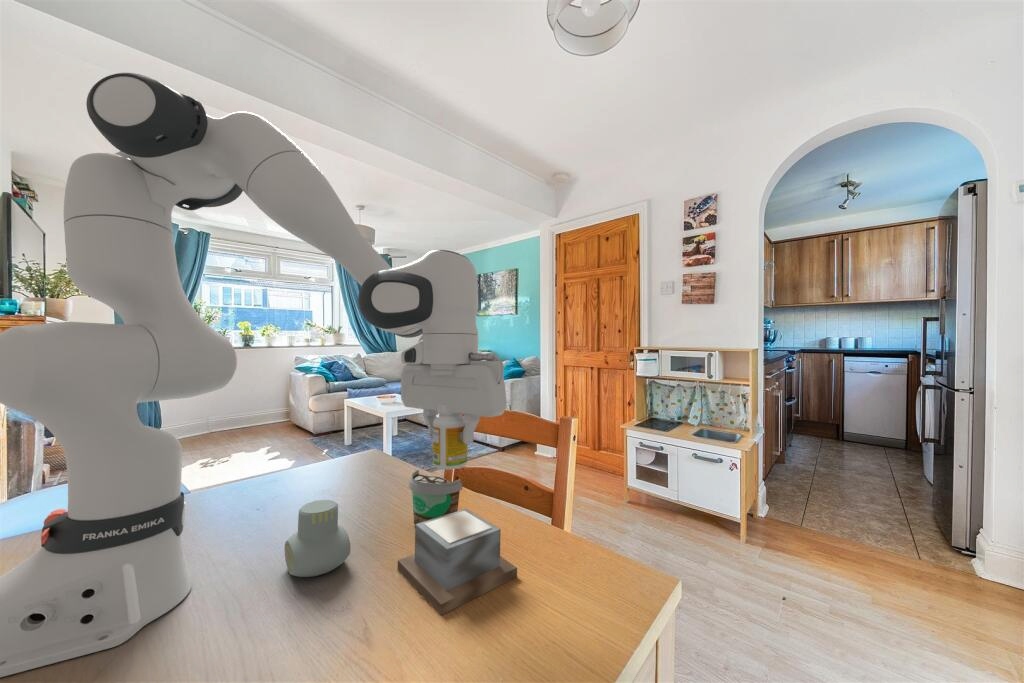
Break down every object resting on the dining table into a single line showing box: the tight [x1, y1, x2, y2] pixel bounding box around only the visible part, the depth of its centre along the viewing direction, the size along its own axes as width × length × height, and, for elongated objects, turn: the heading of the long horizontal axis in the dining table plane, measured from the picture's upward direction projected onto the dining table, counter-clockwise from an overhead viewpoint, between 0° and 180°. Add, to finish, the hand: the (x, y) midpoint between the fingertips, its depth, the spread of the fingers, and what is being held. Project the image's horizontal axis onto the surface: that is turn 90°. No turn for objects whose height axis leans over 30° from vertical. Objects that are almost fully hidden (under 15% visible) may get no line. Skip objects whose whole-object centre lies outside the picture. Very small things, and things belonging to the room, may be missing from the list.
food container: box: [408, 469, 463, 525], centre depth 77 cm, size 12×6×10 cm, turn 62°
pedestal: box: [397, 508, 518, 616], centre depth 62 cm, size 14×14×8 cm
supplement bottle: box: [432, 405, 468, 471], centre depth 60 cm, size 5×5×10 cm
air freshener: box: [284, 499, 351, 578], centre depth 63 cm, size 11×8×10 cm
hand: (450, 439), depth 60 cm, fingers closed on supplement bottle, 5 cm apart
